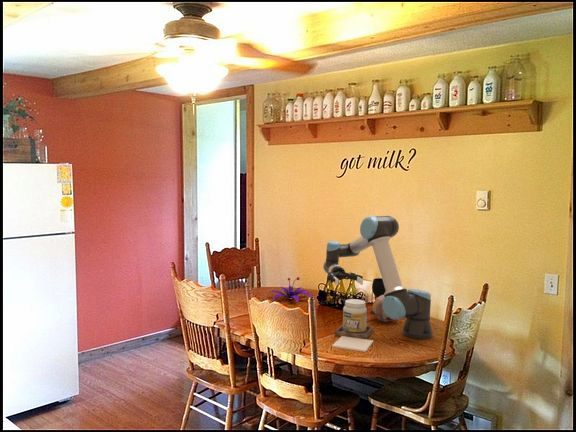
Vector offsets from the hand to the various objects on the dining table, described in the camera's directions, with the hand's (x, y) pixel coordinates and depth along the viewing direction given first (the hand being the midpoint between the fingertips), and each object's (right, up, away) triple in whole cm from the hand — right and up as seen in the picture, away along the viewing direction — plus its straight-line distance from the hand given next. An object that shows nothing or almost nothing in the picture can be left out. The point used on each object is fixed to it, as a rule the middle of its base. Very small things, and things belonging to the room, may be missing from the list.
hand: (350, 282), depth 274 cm
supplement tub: (+1, -26, -7) cm, 27 cm away
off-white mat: (-1, -27, -24) cm, 36 cm away
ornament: (+22, -24, +18) cm, 37 cm away
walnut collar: (+1, -26, -7) cm, 27 cm away
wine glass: (+22, -23, +36) cm, 48 cm away
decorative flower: (-31, -20, +64) cm, 74 cm away
